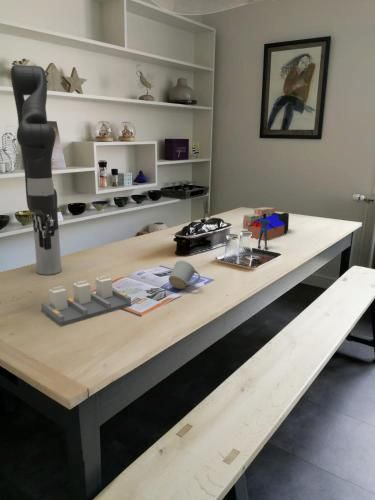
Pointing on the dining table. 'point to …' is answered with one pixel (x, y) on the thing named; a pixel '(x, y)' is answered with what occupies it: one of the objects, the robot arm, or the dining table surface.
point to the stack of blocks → (257, 215)
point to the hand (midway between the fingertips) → (45, 247)
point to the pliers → (205, 208)
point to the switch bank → (87, 308)
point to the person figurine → (263, 230)
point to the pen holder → (283, 220)
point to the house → (270, 230)
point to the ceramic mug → (182, 275)
